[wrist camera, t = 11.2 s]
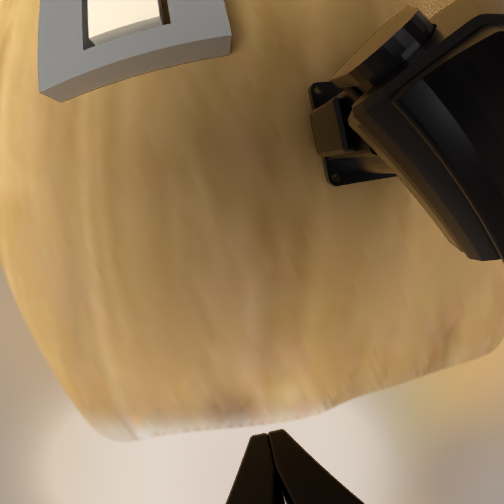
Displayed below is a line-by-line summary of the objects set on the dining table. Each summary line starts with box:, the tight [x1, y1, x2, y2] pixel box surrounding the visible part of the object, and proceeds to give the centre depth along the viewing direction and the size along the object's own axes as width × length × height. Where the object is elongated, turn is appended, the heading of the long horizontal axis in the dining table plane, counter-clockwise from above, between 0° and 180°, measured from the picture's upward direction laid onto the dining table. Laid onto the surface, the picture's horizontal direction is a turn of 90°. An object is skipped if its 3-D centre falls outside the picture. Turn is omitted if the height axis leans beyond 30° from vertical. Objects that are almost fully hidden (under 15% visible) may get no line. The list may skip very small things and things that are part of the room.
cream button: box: [88, 0, 165, 46], centre depth 13 cm, size 4×4×3 cm
